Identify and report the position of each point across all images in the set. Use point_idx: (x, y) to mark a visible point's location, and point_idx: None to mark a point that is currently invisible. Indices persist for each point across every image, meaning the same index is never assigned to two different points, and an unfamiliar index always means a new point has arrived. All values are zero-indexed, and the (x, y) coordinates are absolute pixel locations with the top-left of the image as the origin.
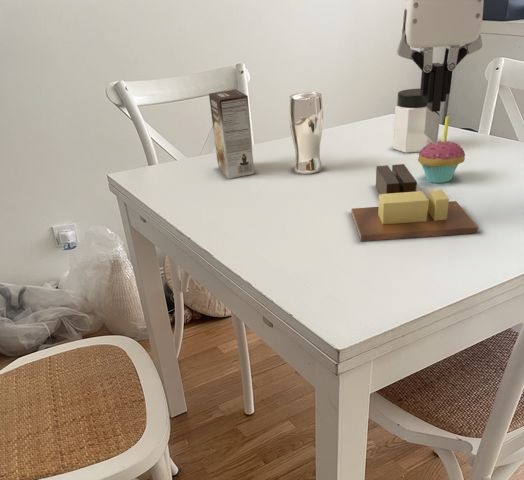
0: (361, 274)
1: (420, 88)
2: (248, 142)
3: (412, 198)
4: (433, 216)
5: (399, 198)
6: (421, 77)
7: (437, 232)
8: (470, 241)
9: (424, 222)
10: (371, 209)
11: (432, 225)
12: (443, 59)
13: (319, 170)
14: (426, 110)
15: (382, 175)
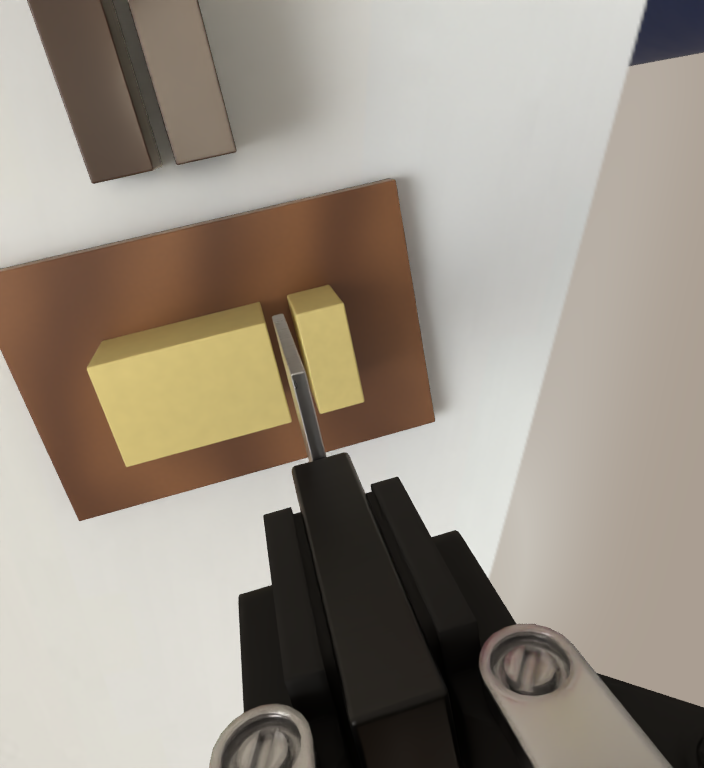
0: (130, 679)
1: (239, 618)
2: None
3: (231, 408)
4: (307, 377)
5: (181, 413)
6: (243, 689)
7: None
8: (403, 466)
9: None
10: (62, 287)
11: None
12: (508, 728)
13: None
14: (287, 367)
15: (38, 25)
